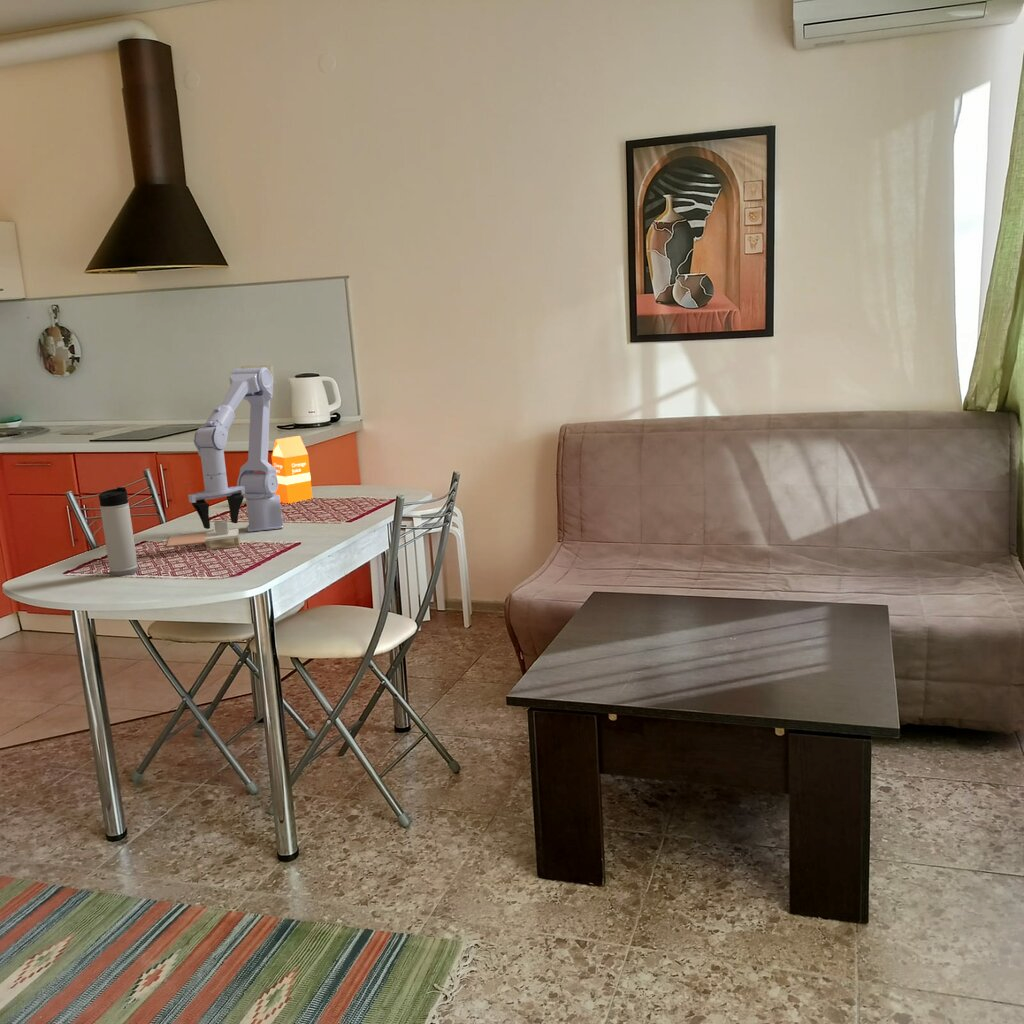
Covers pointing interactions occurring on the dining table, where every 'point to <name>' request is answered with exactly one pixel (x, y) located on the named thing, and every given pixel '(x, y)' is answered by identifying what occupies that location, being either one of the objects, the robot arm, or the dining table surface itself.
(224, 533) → the lid
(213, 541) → the box
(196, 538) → the mat
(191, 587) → the dining table surface
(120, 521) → the travel mug
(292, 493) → the orange juice
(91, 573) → the dining table surface
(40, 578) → the dining table surface
